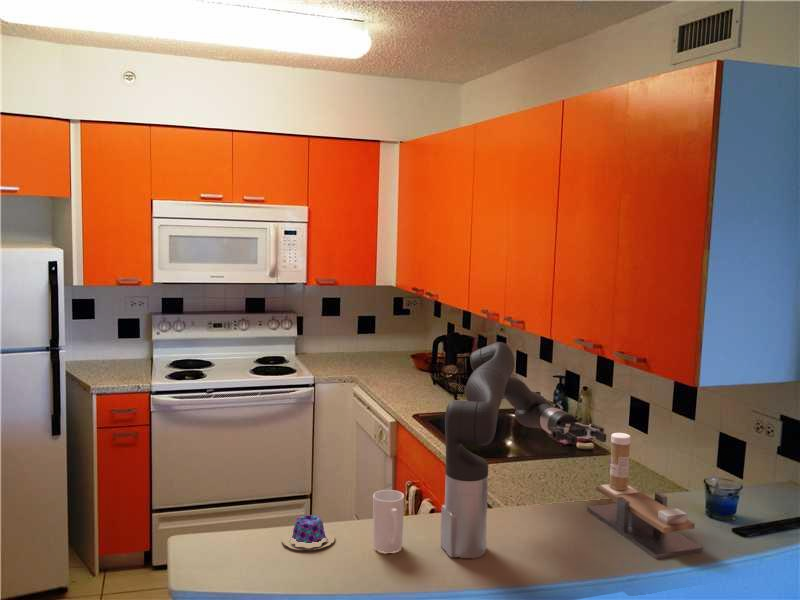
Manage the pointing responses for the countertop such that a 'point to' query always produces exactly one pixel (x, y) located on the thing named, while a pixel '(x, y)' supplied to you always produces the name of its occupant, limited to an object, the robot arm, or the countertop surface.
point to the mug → (388, 520)
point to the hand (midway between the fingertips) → (590, 439)
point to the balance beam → (649, 509)
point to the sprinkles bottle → (619, 461)
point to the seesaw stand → (643, 530)
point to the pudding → (308, 529)
